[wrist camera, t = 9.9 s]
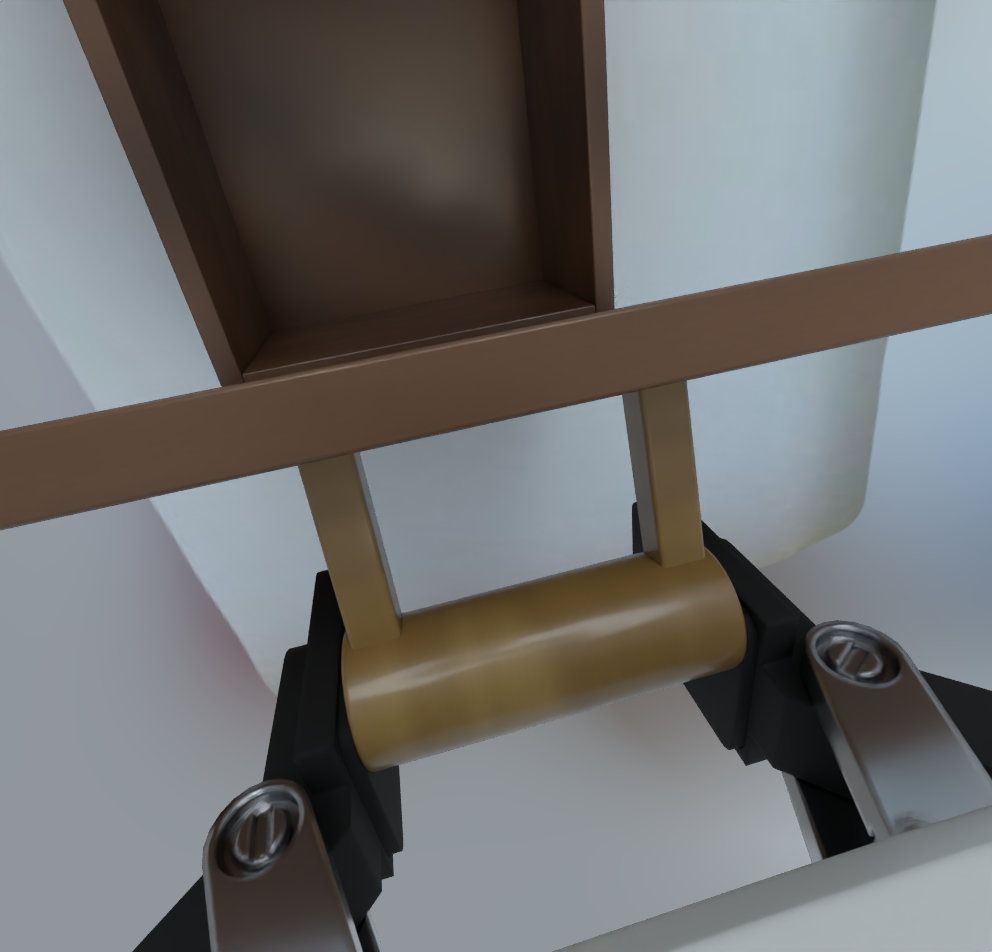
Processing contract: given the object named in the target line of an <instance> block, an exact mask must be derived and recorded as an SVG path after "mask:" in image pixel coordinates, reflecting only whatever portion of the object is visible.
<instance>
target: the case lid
mask: <svg viewBox="0 0 992 952" xmlns="http://www.w3.org/2000/svg"><path fill="white" fill-rule="evenodd" d="M989 314H992V234H991V235H986V236H981V237H976V238H971V239H966V240H961V241H956V242H951V243H946V244H941V245H936V246H931V247H926V248H921V249H916V250H911V251H905V252H900V253H895V254H890V255H885V256H880V257H875V258H870V259H865V260H860V261H855V262H850V263H845V264H840V265H835V266H830V267H825V268H820V269H815V270H810V271H805V272H800V273H795V274H789V275H784V276H779V277H774V278H769V279H764V280H759V281H754V282H749V283H744V284H739V285H734V286H729V287H724V288H719V289H714V290H709V291H704V292H699V293H694V294H689V295H684V296H679V297H674V298H668V299H663V300H658V301H653V302H648V303H643V304H638V305H633V306H628V307H623V308H618V309H613V310H608V311H603V312H598V313H593V314H588V315H583V316H578V317H573V318H568V319H563V320H558V321H553V322H548V323H542V324H537V325H532V326H527V327H522V328H517V329H512V330H507V331H502V332H497V333H492V334H487V335H482V336H477V337H472V338H467V339H462V340H457V341H452V342H447V343H442V344H437V345H432V346H427V347H421V348H416V349H411V350H406V351H401V352H396V353H391V354H386V355H381V356H376V357H371V358H366V359H361V360H356V361H351V362H346V363H341V364H336V365H331V366H326V367H321V368H316V369H311V370H306V371H300V372H295V373H290V374H285V375H280V376H275V377H270V378H265V379H260V380H255V381H250V382H245V383H240V384H235V385H230V386H225V387H220V388H215V389H210V390H205V391H200V392H195V393H190V394H185V395H180V396H174V397H169V398H164V399H159V400H154V401H149V402H144V403H139V404H134V405H129V406H124V407H119V408H114V409H109V410H104V411H99V412H94V413H89V414H84V415H79V416H74V417H69V418H64V419H59V420H53V421H48V422H43V423H38V424H33V425H28V426H23V427H18V428H13V429H9V430H3V431H0V530H4V529H8V528H13V527H18V526H22V525H27V524H32V523H36V522H41V521H45V520H50V519H54V518H59V517H64V516H68V515H73V514H77V513H82V512H86V511H91V510H96V509H100V508H105V507H109V506H114V505H118V504H123V503H128V502H132V501H137V500H141V499H146V498H151V497H155V496H160V495H164V494H169V493H173V492H178V491H183V490H187V489H192V488H196V487H201V486H206V485H210V484H215V483H219V482H224V481H228V480H233V479H238V478H242V477H247V476H251V475H256V474H260V473H265V472H270V471H274V470H279V469H283V468H288V467H293V466H297V465H298V468H299V472H300V475H301V478H302V482H303V485H304V489H305V492H306V496H307V499H308V502H309V506H310V509H311V513H312V516H313V520H314V523H315V526H316V530H317V533H318V537H319V540H320V543H321V547H322V550H323V554H324V557H325V561H326V564H327V567H328V571H329V574H330V578H331V581H332V585H333V588H334V591H335V595H336V598H337V602H338V605H339V609H340V612H341V615H342V619H343V622H344V626H345V629H346V631H345V633H344V637H343V642H342V650H341V672H342V685H343V694H344V701H345V707H346V713H347V718H348V722H349V727H350V731H351V734H352V738H353V741H354V744H355V747H356V750H357V753H358V755H359V757H360V759H361V761H362V763H363V765H364V766H365V768H366V769H367V770H368V771H372V772H377V771H380V770H384V769H387V768H391V767H394V766H398V765H401V764H404V763H408V762H411V761H415V760H418V759H422V758H425V757H429V756H432V755H436V754H439V753H443V752H446V751H449V750H453V749H456V748H460V747H463V746H466V745H470V744H474V743H477V742H481V741H484V740H487V739H491V738H494V737H498V736H501V735H505V734H508V733H512V732H515V731H518V730H522V729H526V728H529V727H532V726H536V725H539V724H543V723H546V722H550V721H553V720H557V719H560V718H563V717H567V716H571V715H574V714H577V713H581V712H584V711H588V710H591V709H595V708H598V707H602V706H605V705H608V704H612V703H616V702H619V701H623V700H626V699H629V698H633V697H636V696H640V695H643V694H647V693H650V692H654V691H657V690H661V689H664V688H667V687H671V686H674V685H678V684H681V683H685V682H688V681H692V680H695V679H699V678H702V677H706V676H709V675H713V674H716V673H719V672H723V671H726V670H730V669H733V668H735V667H737V666H738V665H739V664H740V663H741V662H742V660H743V659H744V656H745V653H746V647H747V633H746V625H745V620H744V615H743V612H742V608H741V605H740V602H739V599H738V596H737V594H736V591H735V589H734V587H733V585H732V583H731V581H730V579H729V577H728V575H727V573H726V572H725V570H724V568H723V567H722V565H721V564H720V563H719V561H718V560H717V559H716V557H715V556H714V555H713V554H712V553H711V552H710V551H709V550H708V549H707V548H706V547H704V542H703V533H702V523H701V514H700V504H699V495H698V485H697V476H696V466H695V457H694V447H693V438H692V428H691V419H690V410H689V400H688V391H687V381H686V380H691V379H696V378H700V377H705V376H709V375H714V374H718V373H723V372H728V371H732V370H737V369H741V368H746V367H750V366H755V365H760V364H764V363H769V362H773V361H778V360H783V359H787V358H792V357H796V356H801V355H805V354H810V353H815V352H819V351H824V350H828V349H833V348H837V347H842V346H847V345H851V344H856V343H860V342H865V341H870V340H874V339H879V338H883V337H888V336H892V335H897V334H902V333H906V332H910V331H915V330H920V329H924V328H929V327H933V326H938V325H943V324H947V323H952V322H957V321H961V320H966V319H970V318H975V317H979V316H984V315H989ZM618 395H622V397H623V404H624V412H625V419H626V426H627V434H628V441H629V449H630V456H631V463H632V471H633V478H634V486H635V493H636V500H637V508H638V515H639V522H640V530H641V537H642V545H643V552H640V553H636V554H632V555H629V556H625V557H621V558H617V559H613V560H609V561H605V562H601V563H597V564H593V565H589V566H586V567H582V568H578V569H574V570H570V571H566V572H562V573H558V574H554V575H550V576H546V577H543V578H539V579H535V580H531V581H527V582H523V583H519V584H515V585H511V586H507V587H503V588H500V589H496V590H492V591H488V592H484V593H480V594H476V595H472V596H468V597H464V598H460V599H457V600H453V601H449V602H445V603H441V604H437V605H433V606H429V607H425V608H421V609H417V610H414V611H410V612H406V613H401V609H400V605H399V601H398V598H397V594H396V590H395V586H394V582H393V579H392V575H391V571H390V567H389V563H388V559H387V556H386V552H385V548H384V544H383V540H382V536H381V533H380V529H379V525H378V521H377V517H376V514H375V510H374V506H373V502H372V498H371V494H370V491H369V487H368V483H367V479H366V475H365V471H364V468H363V464H362V460H361V456H360V452H361V451H366V450H370V449H375V448H380V447H384V446H389V445H393V444H398V443H402V442H407V441H412V440H416V439H421V438H425V437H430V436H435V435H439V434H444V433H448V432H453V431H457V430H462V429H467V428H471V427H476V426H480V425H485V424H489V423H494V422H499V421H503V420H508V419H512V418H517V417H522V416H526V415H531V414H535V413H540V412H544V411H549V410H554V409H558V408H563V407H567V406H572V405H576V404H581V403H586V402H590V401H595V400H599V399H604V398H609V397H613V396H618Z"/></svg>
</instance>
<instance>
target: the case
mask: <svg viewBox="0 0 992 952" xmlns="http://www.w3.org/2000/svg"><path fill="white" fill-rule="evenodd" d="M63 2H64V4H65V7H66V9H67V12H68V14H69V17H70V19H71V21H72V24H73V26H74V29H75V31H76V34H77V36H78V38H79V41H80V43H81V46H82V48H83V51H84V53H85V56H86V58H87V60H88V63H89V65H90V68H91V70H92V73H93V75H94V77H95V80H96V82H97V85H98V87H99V90H100V92H101V94H102V97H103V99H104V102H105V104H106V107H107V109H108V111H109V114H110V116H111V119H112V121H113V124H114V126H115V129H116V131H117V133H118V136H119V138H120V141H121V143H122V146H123V148H124V150H125V153H126V155H127V158H128V160H129V163H130V165H131V167H132V170H133V172H134V175H135V177H136V180H137V182H138V184H139V187H140V189H141V192H142V194H143V197H144V199H145V202H146V204H147V206H148V209H149V211H150V214H151V216H152V219H153V221H154V223H155V226H156V228H157V231H158V233H159V236H160V238H161V240H162V243H163V245H164V248H165V250H166V253H167V255H168V257H169V260H170V262H171V265H172V267H173V270H174V272H175V274H176V277H177V279H178V282H179V284H180V287H181V289H182V292H183V294H184V296H185V299H186V301H187V304H188V306H189V309H190V311H191V313H192V316H193V318H194V321H195V323H196V326H197V328H198V330H199V333H200V335H201V338H202V340H203V343H204V345H205V347H206V350H207V352H208V355H209V357H210V360H211V362H212V365H213V367H214V369H215V372H216V374H217V377H218V379H219V382H220V384H221V386H222V387H225V386H230V385H235V384H240V383H245V382H250V381H255V380H260V379H265V378H270V377H275V376H280V375H285V374H290V373H295V372H300V371H306V370H311V369H316V368H321V367H326V366H331V365H336V364H341V363H346V362H351V361H356V360H361V359H366V358H371V357H376V356H381V355H386V354H391V353H396V352H401V351H406V350H411V349H416V348H421V347H427V346H432V345H437V344H442V343H447V342H452V341H457V340H462V339H467V338H472V337H477V336H482V335H487V334H492V333H497V332H502V331H507V330H512V329H517V328H522V327H527V326H532V325H537V324H542V323H548V322H553V321H558V320H563V319H568V318H573V317H578V316H583V315H588V314H593V313H598V312H603V311H608V310H613V309H615V308H614V279H613V249H612V220H611V190H610V161H609V131H608V102H607V72H606V43H605V13H604V0H63Z"/></svg>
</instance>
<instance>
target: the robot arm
mask: <svg viewBox="0 0 992 952" xmlns="http://www.w3.org/2000/svg"><path fill="white" fill-rule="evenodd" d="M701 523H702V533H703V542H704V547H706V548H707V549H708V550H709V551H710V552H711V553H712V554H713V555H714V556H715V557H716V559H717V560H718V561H719V563H720V564H721V565H722V567H723V568H724V570H725V572H726V573H727V575H728V577H729V579H730V581H731V583H732V585H733V587H734V589H735V591H736V594H737V596H738V599H739V602H740V605H741V608H742V612H743V615H744V620H745V625H746V633H747V647H746V653H745V656H744V659H743V660H742V662H741V663H740V664H739V665H738V666H737V667H735V668H733V669H730V670H726V671H723V672H719V673H716V674H713V675H709V676H706V677H702V678H699V679H695V680H692V681H688V682H685V683H683V684H684V685H685V687H686V689H687V690H688V692H689V693H690V695H691V696H692V698H693V699H694V701H695V702H696V704H697V706H698V707H699V708H700V710H701V712H702V713H703V715H704V716H705V718H706V720H707V721H708V723H709V724H710V726H711V727H712V729H713V730H714V732H715V733H716V735H717V737H718V738H719V740H720V741H721V743H722V744H723V745H724V747H726V748H727V749H729V750H731V749H735V750H736V751H737V753H738V754H739V756H740V757H741V759H742V760H743V761H744V763H745V765H746V766H747V765H750V764H753V763H756V762H760V761H763V760H766V759H767V760H768V761H769V762H770V764H771V765H772V767H773V768H775V769H777V770H780V771H782V775H783V778H784V781H785V784H786V787H787V790H788V793H789V796H790V799H791V802H792V805H793V808H794V811H795V813H796V817H797V820H798V823H799V825H800V829H801V831H802V835H803V837H804V841H805V844H806V846H807V850H808V853H809V856H810V858H811V861H812V864H809V865H806V866H803V867H800V868H797V869H794V870H791V871H788V872H785V873H782V874H779V875H776V876H773V877H770V878H767V879H764V880H761V881H758V882H755V883H752V884H750V885H747V886H744V887H741V888H738V889H735V890H732V891H729V892H726V893H723V894H720V895H717V896H714V897H711V898H708V899H705V900H702V901H700V902H696V903H693V904H691V905H688V906H685V907H682V908H679V909H676V910H673V911H670V912H667V913H664V914H661V915H659V916H655V917H653V918H649V919H647V920H644V921H641V922H638V923H635V924H632V925H629V926H626V927H623V928H620V929H617V930H614V931H612V932H609V933H606V934H603V935H600V936H597V937H594V938H591V939H588V940H585V941H582V942H580V943H577V944H573V945H571V946H568V947H565V948H562V949H559V950H556V951H553V952H992V691H990V690H987V689H983V688H980V687H976V686H973V685H969V684H965V683H962V682H959V681H955V680H952V679H948V678H944V677H941V676H937V675H934V674H931V673H927V672H923V671H920V670H918V669H917V667H916V666H915V664H914V663H913V661H912V660H911V658H910V657H909V655H908V654H907V653H906V652H905V650H904V649H903V648H902V647H901V646H900V645H899V644H898V643H897V642H896V641H894V640H893V639H891V638H890V637H889V636H887V635H886V634H884V633H882V632H880V631H878V630H876V629H874V628H872V627H869V626H865V625H862V624H859V623H855V622H848V621H838V620H837V621H829V622H823V623H821V624H818V625H817V626H816V625H815V624H814V623H813V622H812V621H811V620H810V619H809V618H808V617H807V616H805V614H804V613H802V612H801V611H800V610H799V609H798V608H797V607H796V606H795V605H794V604H793V603H792V602H791V601H790V600H789V599H788V598H787V597H786V596H785V595H784V594H783V593H782V592H781V591H780V590H779V589H778V588H776V586H774V585H773V584H772V583H771V582H770V581H769V580H768V579H767V578H766V577H765V576H764V575H763V574H762V573H761V572H760V571H759V570H758V569H757V568H756V567H755V566H754V565H753V564H752V563H751V562H750V561H749V560H748V559H747V558H745V557H744V556H743V555H742V554H741V553H740V552H739V551H738V550H737V549H736V548H735V547H734V546H733V545H732V544H731V543H730V542H728V541H727V540H725V539H722V538H719V537H718V536H717V535H716V534H715V533H714V532H713V531H712V530H711V529H710V528H709V527H708V526H707V525H706V524H705V523H704V522H703V521H702V520H701ZM632 536H633V554H636V553H640V552H643V545H642V537H641V530H640V522H639V515H638V508H637V502H635V503H633V505H632ZM345 631H346V629H345V626H344V622H343V619H342V615H341V612H340V609H339V605H338V602H337V598H336V595H335V591H334V588H333V585H332V581H331V578H330V574H329V571H328V570H325V571H321V572H318V573H317V575H316V581H315V589H314V596H313V604H312V612H311V619H310V627H309V635H308V643H307V644H306V645H303V646H299V647H295V648H291V649H289V650H288V651H287V652H286V655H285V658H284V663H283V669H282V675H281V680H280V686H279V692H278V698H277V703H276V709H275V715H274V721H273V726H272V732H271V738H270V743H269V749H268V755H267V760H266V766H265V772H264V777H263V782H261V783H259V784H257V785H255V786H252V787H250V788H248V789H247V790H246V791H244V792H243V793H241V794H240V795H239V796H237V797H236V798H235V799H233V800H232V801H231V803H230V804H229V805H228V806H227V807H226V808H225V809H224V810H223V811H222V812H221V813H220V815H219V816H218V818H217V819H216V821H215V823H214V824H213V826H212V827H211V829H210V831H209V833H208V836H207V839H206V842H205V844H204V847H203V858H202V869H203V875H202V877H200V879H199V880H198V881H197V882H196V883H195V884H194V885H193V886H192V887H191V888H190V890H189V891H188V892H187V893H186V894H185V895H184V896H183V897H182V898H181V899H180V900H179V901H178V903H177V904H176V905H175V906H174V907H173V908H172V909H171V910H170V911H169V912H168V913H167V915H166V916H165V917H164V918H163V919H162V920H161V921H160V922H159V923H158V925H157V926H155V928H154V929H153V930H152V931H151V932H150V933H149V934H148V935H147V936H146V938H144V940H143V941H142V942H141V943H140V944H139V945H138V946H137V947H136V948H135V949H134V951H133V952H384V951H383V948H382V945H381V943H380V940H379V937H378V934H377V931H376V928H375V925H374V922H373V920H372V916H371V914H370V911H369V910H370V908H371V906H372V905H373V904H374V902H375V900H376V899H377V898H378V896H379V895H380V893H381V892H382V879H385V878H389V877H392V876H394V873H393V854H394V853H397V852H400V851H402V849H403V829H402V812H401V796H400V795H401V794H400V776H399V765H398V766H394V767H391V768H387V769H384V770H380V771H377V772H372V771H368V770H367V769H366V768H365V766H364V765H363V763H362V761H361V759H360V757H359V755H358V753H357V750H356V747H355V744H354V741H353V738H352V734H351V731H350V727H349V722H348V718H347V713H346V707H345V701H344V694H343V685H342V672H341V650H342V642H343V637H344V633H345Z"/></svg>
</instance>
